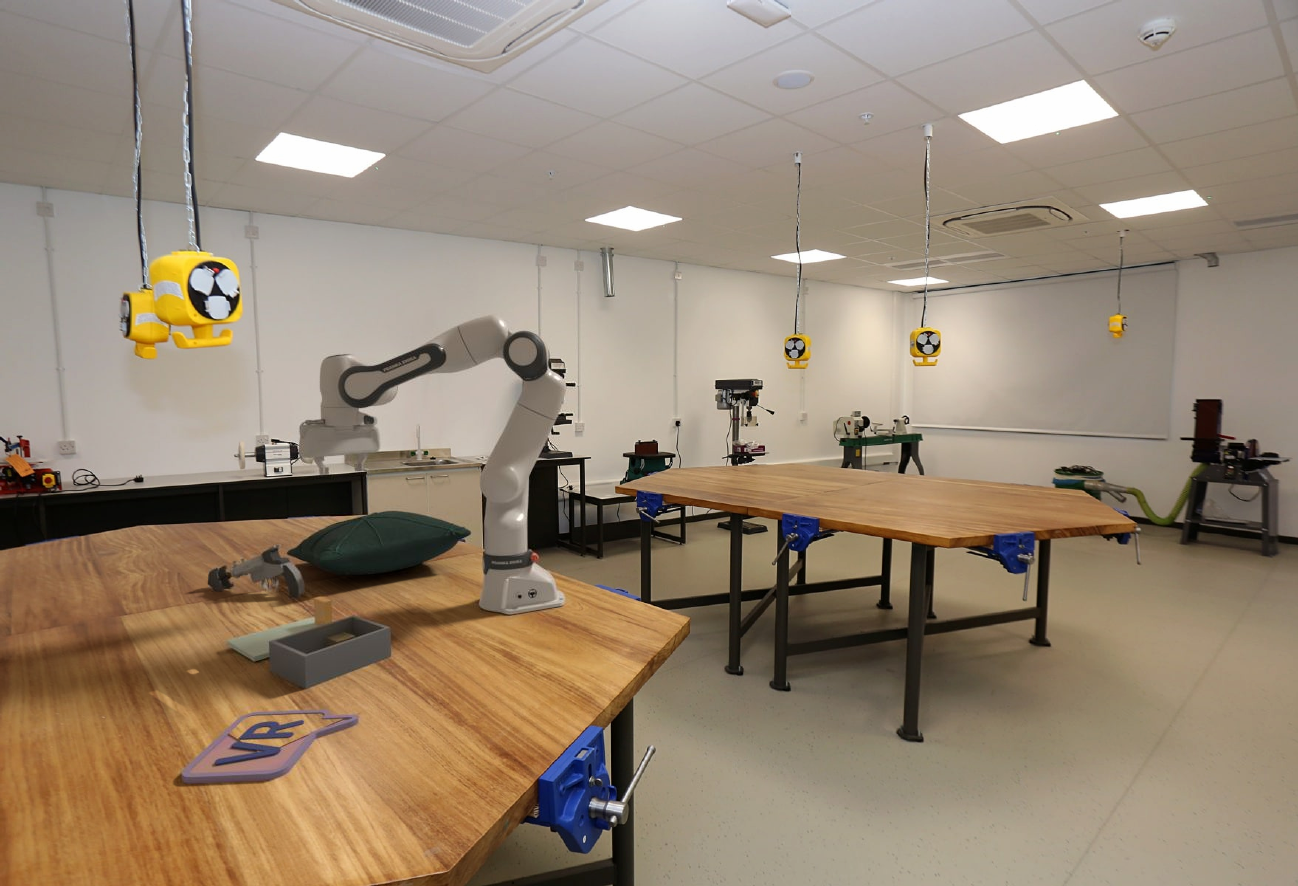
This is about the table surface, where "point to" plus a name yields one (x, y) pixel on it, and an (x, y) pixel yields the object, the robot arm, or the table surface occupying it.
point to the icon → (242, 760)
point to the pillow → (379, 543)
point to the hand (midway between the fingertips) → (341, 472)
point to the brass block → (338, 638)
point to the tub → (329, 651)
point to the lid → (280, 632)
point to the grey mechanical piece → (260, 572)
